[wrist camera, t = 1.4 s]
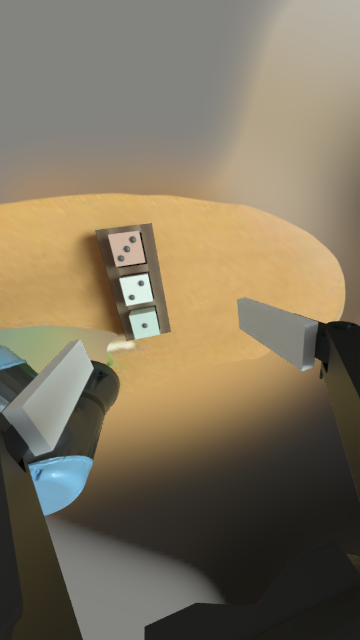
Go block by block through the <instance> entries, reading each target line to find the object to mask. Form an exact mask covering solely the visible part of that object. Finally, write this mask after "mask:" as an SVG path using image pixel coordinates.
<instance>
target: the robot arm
mask: <svg viewBox="0 0 360 640" xmlns="http://www.w3.org/2000/svg"><path fill="white" fill-rule="evenodd" d="M237 303H238V315H239V327H240V329H241V330H243V331H244V332H246V333H247V334H249V335H250V336H252V337H253V338H255V339H256V340H257V341H259V342H260V343H262V344H263V345H265V346H266V347H268V348H269V349H271V350H272V351H274V352H275V353H277V354H278V355H280V356H281V357H282V358H284V359H286V360H287V361H288V362H290V363H291V364H293V365H294V366H295V367H297V368H298V369H300V370H301V371H303V370H306V369H310V368H313V367H314V362H315V358H317V359H319V360H321V361H322V363H321V371H320V379H322V378H323V376H324V379H325V383H326V386H327V389H328V393H329V396H330V400H331V404H332V407H333V411H334V414H335V418H336V421H337V424H338V428H339V431H340V435H341V438H342V442H343V445H344V448H345V452H346V456H347V459H348V462H349V466H350V469H351V473H352V476H353V480H354V483H355V487H356V490H357V494H358V497H359V500H360V326H359V325H357V324H355V323H350V322H344V321H333V322H328V323H327V324H325V323H322V322H319V321H316V320H313V319H310V318H307V317H304V316H301V315H298V314H295V313H290V312H287V311H285V310H282V309H279V308H276V307H273V306H270V305H267V304H264V303H261V302H258V301H255V300H252V299H249V298H246V297H245V298H241V299H237ZM119 388H120V382H119V378H118V376H117V374H116V373H115V372H114V371H113V370H112V369H111V368H110V367H109V366H107V365H105V364H103V363H100V362H97V361H91V360H90V359H89V357H88V355H87V352H86V350H85V348H84V346H83V344H82V341H81V340H80V339H79V340H75V341H71V342H69V343H68V344H67V345H66V347H65V348H64V349H63V350H62V351H61V352H60V353H59V354H58V355H57V356H56V357H55V358H54V359H53V360H52V361H51V362H50V363H49V364H48V365H47V366H46V367H45V368H44V369H43V370H42V371H41V372H40V373H39V374H38V373H36V372H35V371H34V370H33V369H32V368H31V367H30V366H29V365H28V364H27V362H26V360H22V359H21V358H20V357H19V356H17V355H16V354H15V353H13V352H12V351H11V350H10V349H8V348H7V347H5V346H2V345H0V640H83V639H82V635H81V632H80V629H79V626H78V623H77V619H76V617H75V613H74V610H73V607H72V603H71V600H70V597H69V594H68V591H67V588H66V584H65V581H64V578H63V575H62V572H61V568H60V565H59V562H58V559H57V556H56V552H55V549H54V546H53V543H52V540H51V536H50V533H49V530H48V527H47V524H46V521H45V517H44V516H45V515H48V514H51V513H54V512H56V511H58V510H60V509H62V508H64V507H65V506H67V505H68V504H70V503H71V502H72V501H73V500H74V499H75V498H77V496H78V495H79V494H80V492H81V491H82V489H83V487H84V485H85V482H86V479H87V476H88V473H89V470H90V469H91V467H92V463H93V459H94V455H95V451H96V447H97V443H98V439H99V436H100V432H101V428H102V424H103V420H104V416H105V415H106V413H107V412H108V410H109V409H110V407H111V406H112V405H113V404H114V402H115V401H116V399H117V396H118V392H119ZM145 640H360V557H357V556H353V555H346V553H345V552H344V551H343V549H342V547H341V546H340V545H339V543H338V542H337V540H336V539H333V540H331V541H329V542H327V543H325V544H323V545H320V546H318V547H316V548H314V549H312V550H310V551H307V552H305V553H303V554H301V555H299V556H297V557H294V558H293V559H292V561H291V562H290V563H289V564H288V566H287V567H286V568H285V569H284V571H283V572H282V573H281V574H280V576H279V577H278V578H277V579H276V581H275V582H274V583H273V584H272V586H271V587H270V588H269V590H268V591H267V592H266V593H265V595H264V596H263V597H262V598H261V600H260V601H259V602H258V603H257V604H255V605H252V606H242V605H241V606H240V605H226V604H209V603H195V604H193V605H190V606H188V607H186V608H184V609H182V610H180V611H178V612H176V613H173V614H171V615H169V616H167V617H165V618H163V619H160V620H158V621H156V622H154V623H152V624H149V625H147V626H145Z"/></svg>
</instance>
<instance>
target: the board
mask: <svg viewBox="0 0 360 640" xmlns="http://www.w3.org/2000/svg"><path fill="white" fill-rule="evenodd" d="M95 231H96V235H97V238H98V242H99V245H100V249H101V252H102V256H103V260H104V263H105V267H106V270H107V274H108V277H109V281H110V284H111V288H112V291H113V295H114V298H115V302H116V306H117V309H118V313H119V316H120V320H121V323H122V327H123V330H124V334H125V337H126V341H129V340H134V339H135V337H134V333H133V329H132V325H131V322H130V318H129V315H130V312H131V309H137V308H142V307H147V306H153V305H156V309H157V314H158V319H159V323H158V326H159V332H160V334H163V333H168V332H171V330H170V324H169V318H168V313H167V307H166V301H165V296H164V290H163V284H162V279H161V273H160V267H159V262H158V256H157V251H156V245H155V239H154V234H153V228H152V223H150V224H142V225H134V226H126V227H118V228H110V229H102V230H95ZM132 231H139V233H140V236H141V235H142V239H143V244H144V249H145V254H146V259H147V264H142V265H135V266H129V267H122V268H121V266H119V267H116V264H115V260H114V257H113V253H112V249H111V245H110V241H109V238H108V235H109V234H117V233H125V232H132ZM147 271H149V274H150V279H151V284H152V289H153V294H154V295H152V296H153V301H151V302H146V303H140V304H134V305H129V306H126V303H125V299H124V295H123V291H122V287H121V283H120V280H119V279H120V278H121V277H123V275H128V274H134V273H140V272H147Z"/></svg>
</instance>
